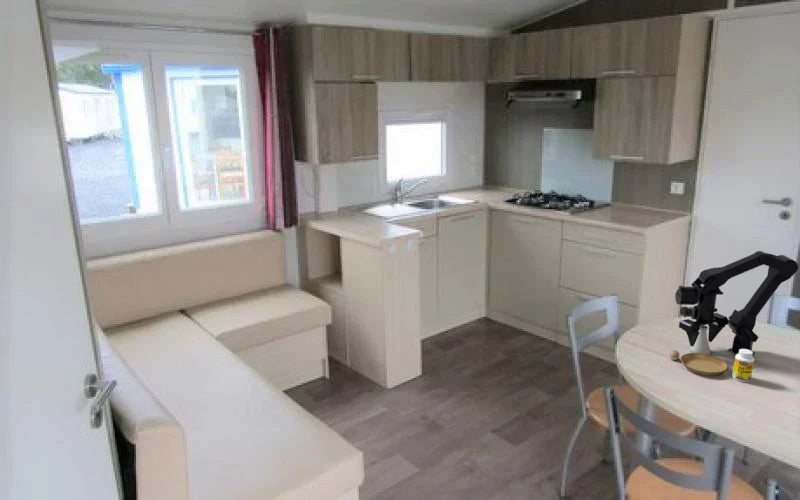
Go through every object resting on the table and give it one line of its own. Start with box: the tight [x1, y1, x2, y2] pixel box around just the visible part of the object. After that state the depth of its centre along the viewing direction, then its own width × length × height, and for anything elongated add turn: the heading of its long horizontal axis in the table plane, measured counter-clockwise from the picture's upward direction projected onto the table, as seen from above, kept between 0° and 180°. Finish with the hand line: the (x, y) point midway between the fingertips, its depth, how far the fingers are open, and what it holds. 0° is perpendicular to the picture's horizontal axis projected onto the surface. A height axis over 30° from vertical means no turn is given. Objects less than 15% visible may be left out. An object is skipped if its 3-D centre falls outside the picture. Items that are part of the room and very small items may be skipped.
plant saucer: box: [679, 352, 728, 376], centre depth 205 cm, size 15×15×3 cm
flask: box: [689, 325, 711, 355], centre depth 217 cm, size 7×7×10 cm
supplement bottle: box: [731, 349, 755, 383], centre depth 196 cm, size 6×6×10 cm
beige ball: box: [668, 349, 681, 361], centre depth 212 cm, size 4×4×4 cm
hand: (700, 343), depth 217 cm, fingers open, 9 cm apart
